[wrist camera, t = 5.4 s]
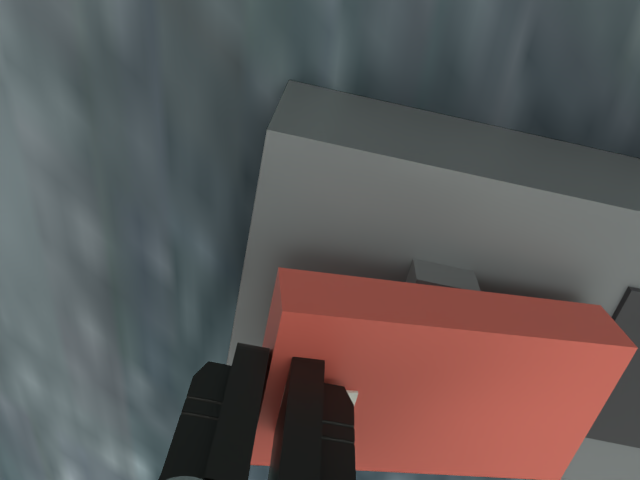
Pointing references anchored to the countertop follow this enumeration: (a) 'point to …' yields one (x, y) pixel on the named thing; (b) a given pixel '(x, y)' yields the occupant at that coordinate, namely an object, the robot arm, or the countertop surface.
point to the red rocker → (446, 372)
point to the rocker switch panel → (450, 224)
